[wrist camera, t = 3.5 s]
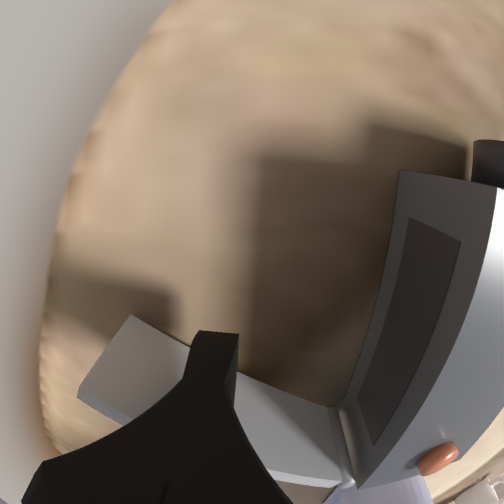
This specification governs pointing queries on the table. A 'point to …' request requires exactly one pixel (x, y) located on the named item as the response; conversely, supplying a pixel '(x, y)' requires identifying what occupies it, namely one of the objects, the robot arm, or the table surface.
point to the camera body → (433, 328)
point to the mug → (481, 493)
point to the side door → (245, 404)
